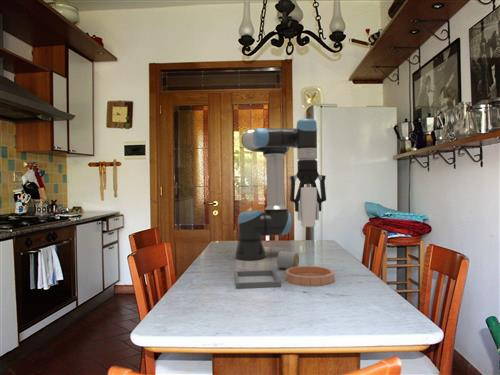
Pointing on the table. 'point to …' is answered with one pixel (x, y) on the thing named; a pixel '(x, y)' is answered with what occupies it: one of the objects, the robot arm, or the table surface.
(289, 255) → the ceramic mug
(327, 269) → the bowl
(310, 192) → the drinking glass
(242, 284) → the tray
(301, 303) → the table surface
